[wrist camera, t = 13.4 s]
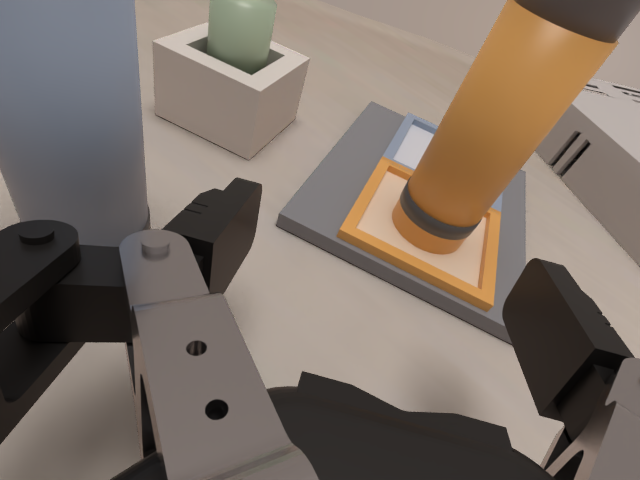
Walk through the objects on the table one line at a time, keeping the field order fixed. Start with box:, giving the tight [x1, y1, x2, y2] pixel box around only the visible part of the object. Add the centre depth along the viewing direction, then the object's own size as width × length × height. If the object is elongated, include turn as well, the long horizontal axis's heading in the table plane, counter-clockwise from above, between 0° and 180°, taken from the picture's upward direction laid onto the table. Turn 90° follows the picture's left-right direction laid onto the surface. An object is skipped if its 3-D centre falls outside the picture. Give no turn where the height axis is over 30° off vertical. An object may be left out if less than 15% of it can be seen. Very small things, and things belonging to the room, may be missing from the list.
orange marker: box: [392, 0, 640, 255], centre depth 15 cm, size 4×4×13 cm
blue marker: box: [0, 0, 151, 247], centre depth 10 cm, size 4×4×13 cm
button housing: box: [152, 22, 310, 160], centre depth 22 cm, size 6×6×4 cm
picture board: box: [276, 101, 526, 344], centre depth 23 cm, size 12×15×1 cm
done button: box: [207, 0, 277, 75], centre depth 21 cm, size 3×3×4 cm
